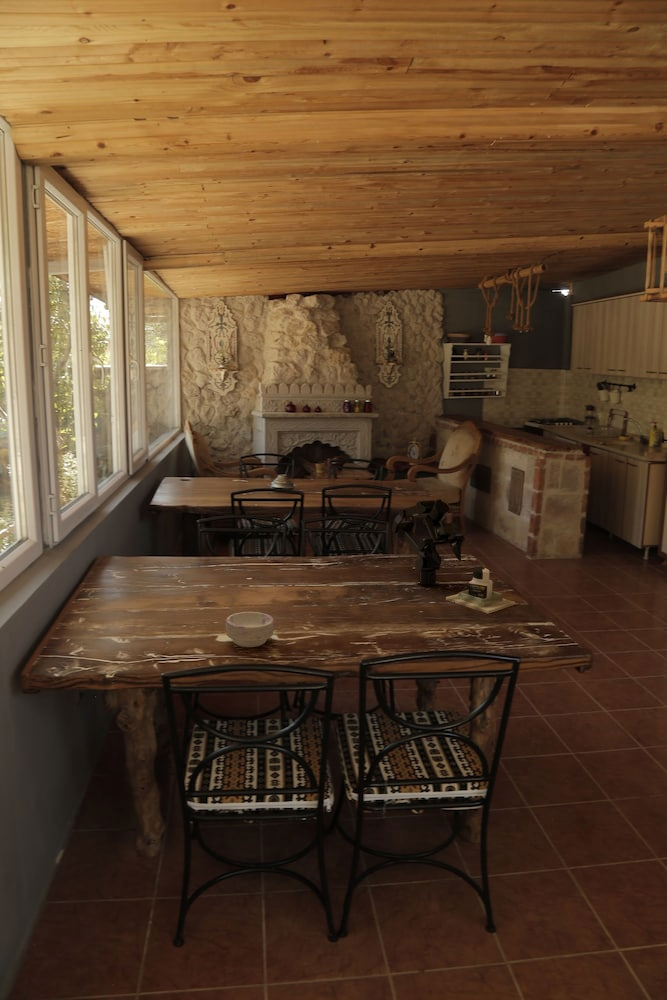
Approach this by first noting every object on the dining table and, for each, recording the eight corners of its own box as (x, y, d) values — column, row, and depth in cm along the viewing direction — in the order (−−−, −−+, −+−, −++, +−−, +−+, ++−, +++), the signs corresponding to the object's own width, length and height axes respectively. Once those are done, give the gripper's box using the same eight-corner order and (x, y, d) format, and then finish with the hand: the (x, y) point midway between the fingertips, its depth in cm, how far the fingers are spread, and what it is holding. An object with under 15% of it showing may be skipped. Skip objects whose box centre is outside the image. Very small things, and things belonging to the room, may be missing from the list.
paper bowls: (283, 641, 245) (283, 618, 243) (248, 655, 233) (247, 630, 232) (251, 630, 255) (251, 607, 253) (216, 642, 243) (215, 618, 242)
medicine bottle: (467, 600, 285) (469, 569, 282) (473, 595, 291) (475, 565, 289) (486, 603, 281) (487, 572, 279) (491, 598, 288) (493, 567, 285)
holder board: (445, 599, 288) (446, 590, 288) (472, 591, 299) (473, 583, 298) (488, 613, 274) (488, 604, 273) (515, 604, 284) (515, 595, 283)
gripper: (423, 518, 288) (438, 553, 281) (464, 514, 296) (479, 548, 289) (411, 533, 297) (426, 568, 289) (451, 529, 305) (466, 563, 297)
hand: (450, 561), depth 291 cm, fingers open, 9 cm apart
